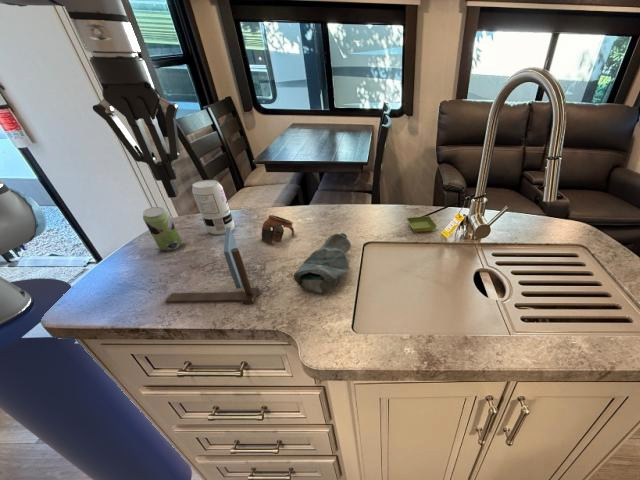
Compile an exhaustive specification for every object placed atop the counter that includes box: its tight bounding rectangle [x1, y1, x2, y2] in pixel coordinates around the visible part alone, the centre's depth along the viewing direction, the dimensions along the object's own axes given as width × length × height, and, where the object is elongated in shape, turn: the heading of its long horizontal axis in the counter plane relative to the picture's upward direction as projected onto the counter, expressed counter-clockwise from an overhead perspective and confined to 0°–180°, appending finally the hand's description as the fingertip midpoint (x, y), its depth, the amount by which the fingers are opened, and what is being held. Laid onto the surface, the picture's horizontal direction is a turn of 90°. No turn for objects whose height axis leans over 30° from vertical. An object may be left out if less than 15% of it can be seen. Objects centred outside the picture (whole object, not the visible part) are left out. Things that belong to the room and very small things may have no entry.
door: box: [223, 227, 242, 290], centre depth 78 cm, size 13×2×10 cm, turn 21°
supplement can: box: [191, 179, 235, 236], centre depth 100 cm, size 8×8×15 cm
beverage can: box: [142, 206, 183, 251], centre depth 91 cm, size 6×7×12 cm
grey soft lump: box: [293, 233, 352, 294], centre depth 85 cm, size 13×7×25 cm
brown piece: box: [261, 214, 295, 245], centre depth 99 cm, size 12×10×8 cm
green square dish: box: [406, 215, 438, 233], centre depth 109 cm, size 9×9×2 cm
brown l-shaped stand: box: [165, 247, 260, 305], centre depth 72 cm, size 20×5×13 cm, turn 94°
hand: (173, 195), depth 68 cm, fingers closed
